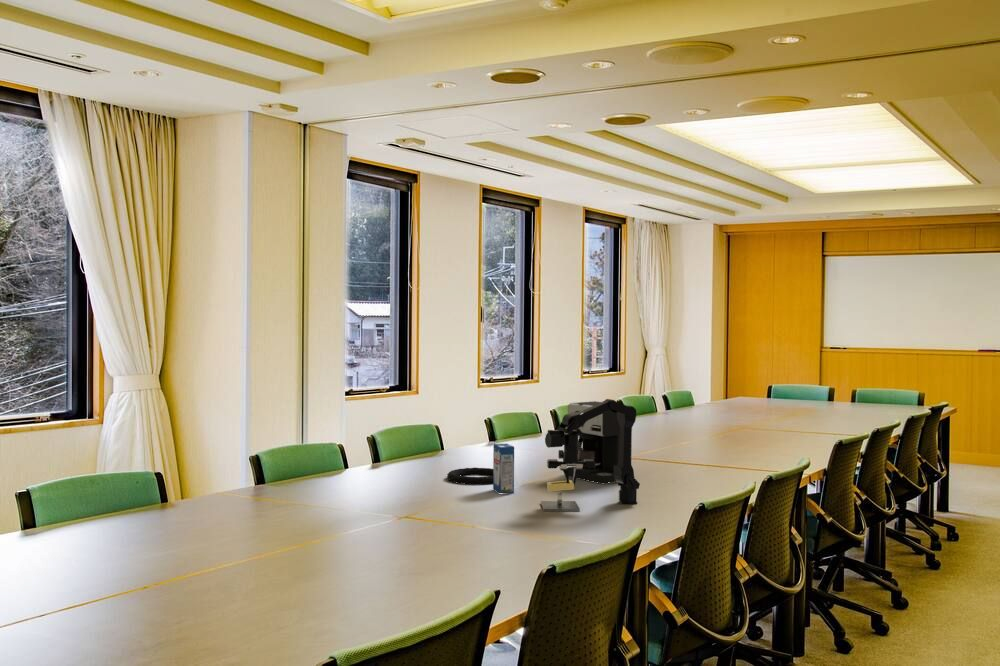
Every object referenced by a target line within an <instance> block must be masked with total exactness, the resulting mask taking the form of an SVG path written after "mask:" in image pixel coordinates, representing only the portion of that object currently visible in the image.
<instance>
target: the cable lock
mask: <svg viewBox="0 0 1000 666" xmlns="http://www.w3.org/2000/svg"><path fill="white" fill-rule="evenodd" d="M470 474H473V475H472V476H471V475H470ZM474 474H479V475H478V476H475V475H474ZM446 475H447V476H446V478H447V479H448V481H449V482H451V481H452V482H451V483H455V482H457V483H456V484H461V483H465V484H464V485H474V484H479V485H491V484H490V483H493V468H489V467H488V468H487V467H465V468H457V469H454V470H450V471H449V472H448V473H447V474H446ZM460 475H464V476H460ZM488 475H492V476H488Z"/></svg>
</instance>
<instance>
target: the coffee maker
mask: <svg viewBox="0 0 1000 666" xmlns="http://www.w3.org/2000/svg"><path fill="white" fill-rule="evenodd" d="M601 402H602V401H595V400H593V401H581V402H569V404H568V405H567V414H569V413H574V412H580V411H583V410H585V409H587V408H590V407H592V406H594V405H596V404H598V403H601ZM578 429H580V430H581V431H582V432H583V433H584V434H583V435H578V461H584V459H593V460H594V461H595V468H587V467H586V466H583V467H582V469H583V470H582V471H580V473H579V475H578V476H577V478H580V479H579V480H581V479H585V480H584V481H586V480H589V481H588V482H590V481H594V482H598V483H597V484H599V483H608V482H614V481H616V480H615V479H614V476H613V472H614V469H613V467H614V466H617V464H618V462H619V443H620V425H619V423H618V420H617V414H616V413H614V412H612V411H611V410H609V411H607V412H605V413H603V414H601V415H599V416H596V417H594V418H592V419H590V420H588V421H587V422H586V423H585V424H584V425H583V426H581V427H580V428H578ZM632 442H633V441H632V440H631V453H632V452H633V451H632V444H633V443H632ZM574 467H575V466H567V468H568V474H569V476H570V477H569V478H573V474H574ZM594 482H593V483H594ZM614 483H615V482H614ZM608 484H609V483H608Z"/></svg>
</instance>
